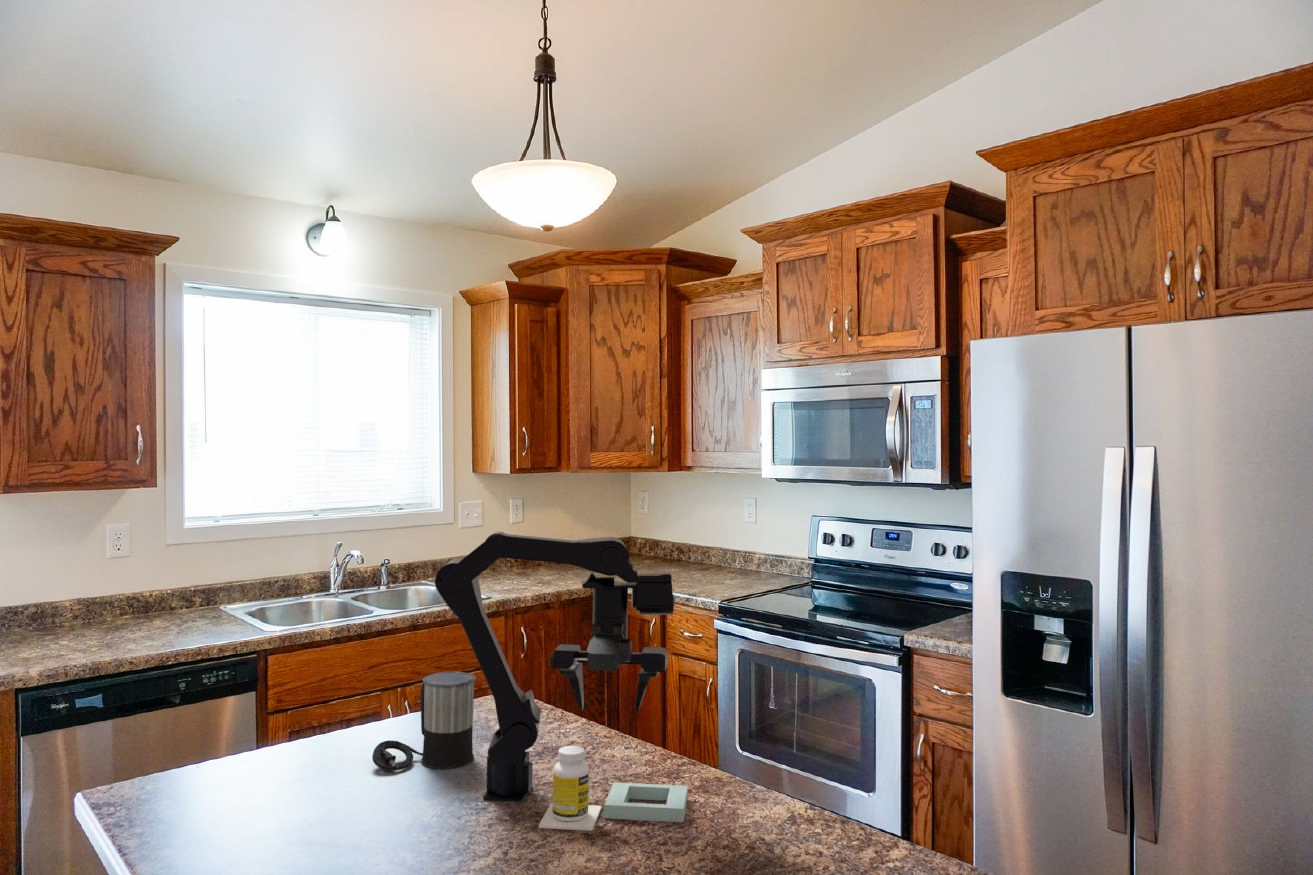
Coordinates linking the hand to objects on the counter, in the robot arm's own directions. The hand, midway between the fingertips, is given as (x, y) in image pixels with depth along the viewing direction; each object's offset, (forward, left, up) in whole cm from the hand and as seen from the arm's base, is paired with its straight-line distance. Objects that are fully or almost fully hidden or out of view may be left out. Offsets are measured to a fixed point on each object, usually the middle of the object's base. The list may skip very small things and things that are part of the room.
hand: (609, 710), depth 140 cm
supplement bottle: (-4, -11, -13) cm, 17 cm away
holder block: (+7, -6, -13) cm, 16 cm away
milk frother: (-34, +9, -13) cm, 38 cm away
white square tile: (-4, -11, -13) cm, 17 cm away
